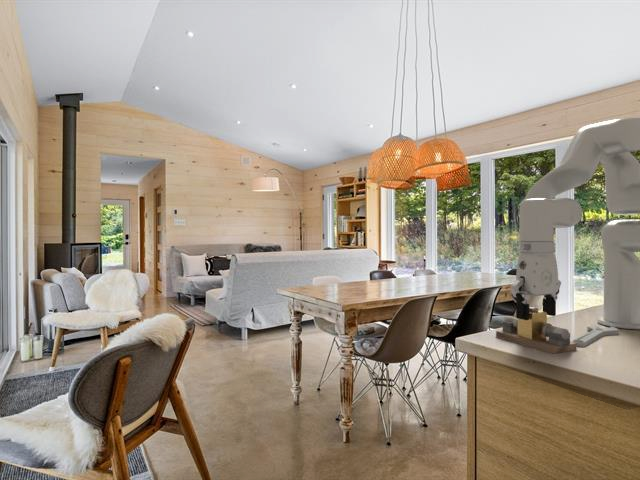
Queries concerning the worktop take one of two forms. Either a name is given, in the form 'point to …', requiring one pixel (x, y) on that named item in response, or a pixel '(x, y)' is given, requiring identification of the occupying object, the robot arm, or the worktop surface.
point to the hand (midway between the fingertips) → (536, 316)
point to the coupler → (532, 325)
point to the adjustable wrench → (594, 335)
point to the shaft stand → (553, 343)
